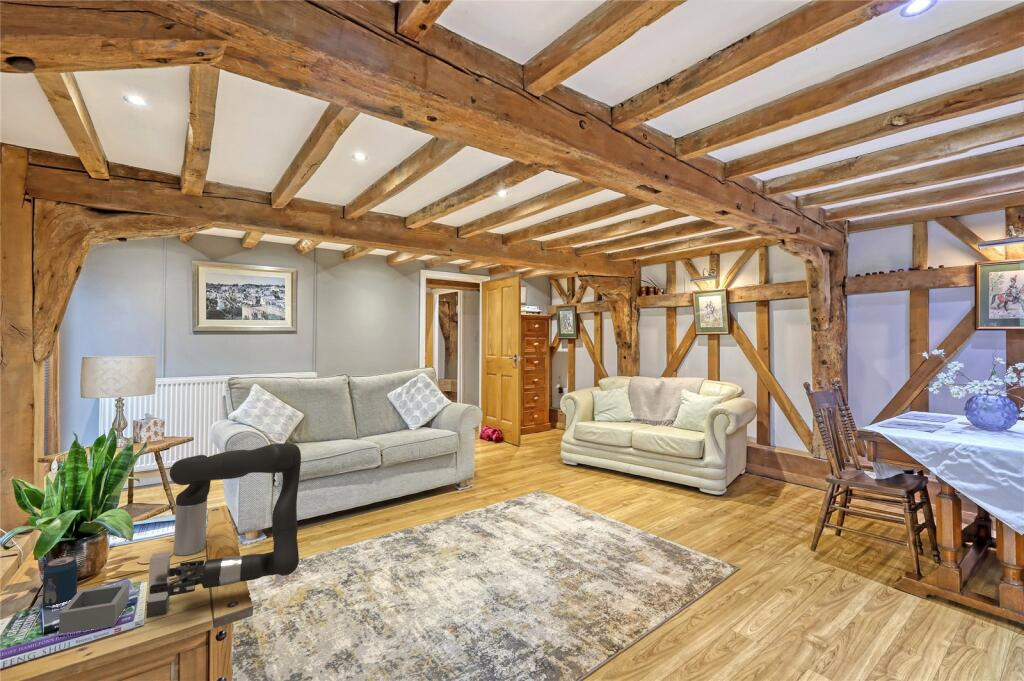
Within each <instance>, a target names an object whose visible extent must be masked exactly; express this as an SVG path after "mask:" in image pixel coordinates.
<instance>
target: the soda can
mask: <svg viewBox="0 0 1024 681" xmlns="http://www.w3.org/2000/svg"><path fill="white" fill-rule="evenodd" d="M78 570H79V562H78V561H77V559H76V556H74V555H65V556H59V558H56V559H53V558H52V559H51V560H49V561H48V562H47V564H46V566H45V567H44V568H43V571H44V576H43V575H42V600H41V602H42V605H43V606H44V607H45V606H52V605H56V604H60V603H63V602H66V601H69V600H71V599H72V598H73V597H74V596H75V595H76V594H77V592H78V572H79V571H78Z"/></svg>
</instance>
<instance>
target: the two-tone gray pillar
mask: <svg viewBox="0 0 1024 681" xmlns="http://www.w3.org/2000/svg"><path fill="white" fill-rule="evenodd" d="M171 553H172V552H171V551H167V552H165V551H164V552H158V553H152V555H151V556H150V558H149V570H148V589H147V590H148V595H147V602H146V614H145V616H146V619H148V618H153V617H159V616H167V614H168V611H169V609H170V603H171V602H170V600H171V598H170V597H171V596H168V593H167V592H162V593H155V594H150V587H151V585H153V584H160V583H167V582H168V583H169V582H170V578H171V577H170V568H171Z"/></svg>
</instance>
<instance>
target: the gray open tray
mask: <svg viewBox="0 0 1024 681" xmlns="http://www.w3.org/2000/svg"><path fill="white" fill-rule="evenodd" d="M129 602H130V583H122V584H117V585H109V586H102V587H101V586H100V587H96V588H90V589H83V590H77V594H76V595H75V596H74V597H73V598H72V599H71V601H70V602H69V603H68V604H67V605H65V606H64V608H63V609H62V610H61V611H60V612H59V619H58V620H59V621H58V635H59V634H61V633H67V632H73V631H74V632H76V631H86V630H91V629H97V628H102V627H103V628H104V627H110V626H114V625H115V623H116V621H117V619H118V618H119V616H120V615H121V613H122V612H123V610H124V609H125V607H126V606H127V604H128V603H129ZM129 604H130V603H129ZM129 604H128V605H129ZM127 607H128V606H127ZM125 610H126V609H125ZM123 613H124V612H123ZM115 626H116V625H115Z"/></svg>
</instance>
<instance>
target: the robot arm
mask: <svg viewBox="0 0 1024 681" xmlns="http://www.w3.org/2000/svg"><path fill="white" fill-rule="evenodd" d="M301 464H302V453H301V450H300V447H299V446H298V445H297V444H294V443H272V444H271V443H270V444H267V445H264V446H260V447H258V448H253V449H235V450H229V451H223V452H220V453H219V452H218V453H216V454H213V455H208V456H207V455H205V454H197V455H193V456H189V457H185V458H181V459H179V460H177V461H175V462H174V463H173V464H172V465H171V467H170V470H169V478H170V480H171V481H172V482H173V483H174V484H176V485H178V486H187V487H185V489H184V490H182V491H181V492H180V493H178V494H177V495H176V497H175V515H174V516H175V517H174V538H173V539H174V541H173V554H174V555H175V556H189V555H194V554H197V553H199V552H202V551H203V550H205V549H206V543H207V542H206V540H207V539H206V537H207V518H208V517H207V512H208V495H209V494H210V490H211V483H212V482H211V481H220V480H221V481H223V480H231V479H239V478H243V477H245V476H247V475H249V474H253V473H254V474H255V473H256V474H257V473H258V474H261V473H262V474H279V473H280V474H281V473H282V485H281V490H280V493H279V495H278V498H277V500H276V501H275V503H274V507H273V510H272V514H271V515H272V516H271V525H272V526H271V528H272V530H271V531H272V541H273V548H272V549H273V551H270V552H264V553H254V554H246V555H233V556H232V555H231V556H224V557H217V558H211V559H206V560H202V559H201V560H194V561H184V562H181V563H180V564H179V565H176V566H175V567H170V578H173V577H175V576H176V578H175V579H174V580H171V581H169V583H168V582H167V583H160V584H153V585H151V587H150V594H155V593H162V592H167V593H168V596H170V597H172V596H173V597H174V596H177V595H183V594H190V593H193V592H196V586H198V585H201V586H202V589H210V588H218V587H222V586H229V585H230V586H231V585H234V584H238V583H242V582H250V581H254V580H258V579H260V578H263V577H270V576H276V575H279V576H282V577H283V576H284V577H286V576H289V575H292V574H293V573H295V571H296V570H297V569H298V567H299V564H300V556H299V555H300V554H299V546H298V545H299V544H298V513H297V512H298V511H297V505H298V504H297V503H298V501H297V500H298V490H299V484H300V473H301V466H302V465H301Z"/></svg>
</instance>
